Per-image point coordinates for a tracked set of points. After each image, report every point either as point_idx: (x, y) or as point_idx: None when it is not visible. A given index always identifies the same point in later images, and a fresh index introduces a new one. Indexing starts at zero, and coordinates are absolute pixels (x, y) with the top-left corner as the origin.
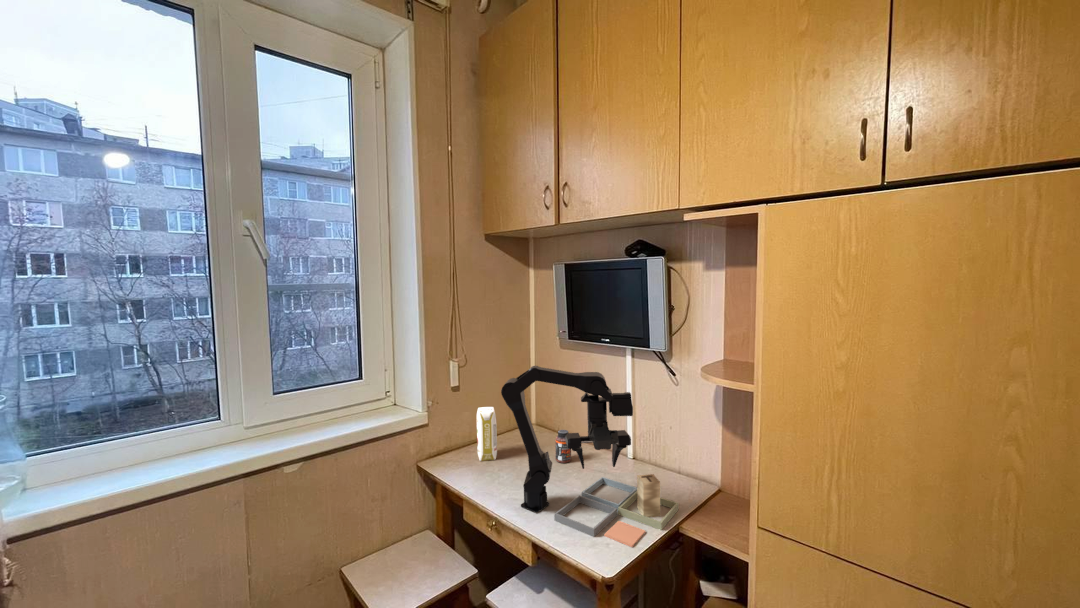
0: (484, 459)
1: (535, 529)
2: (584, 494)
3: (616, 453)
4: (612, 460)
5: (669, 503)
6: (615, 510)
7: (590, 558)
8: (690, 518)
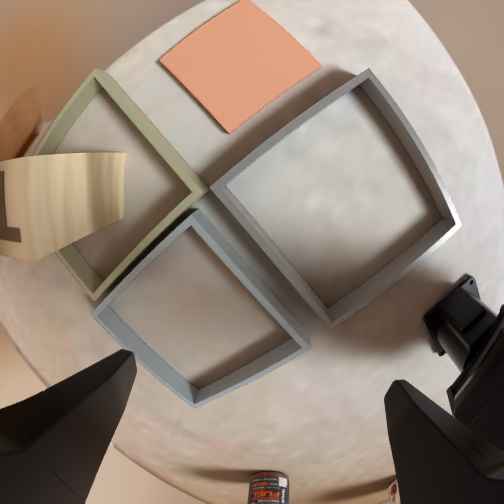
0: None
1: (495, 193)
2: (302, 336)
3: (31, 424)
4: (119, 404)
5: None
6: (222, 176)
7: (391, 5)
8: (24, 137)
